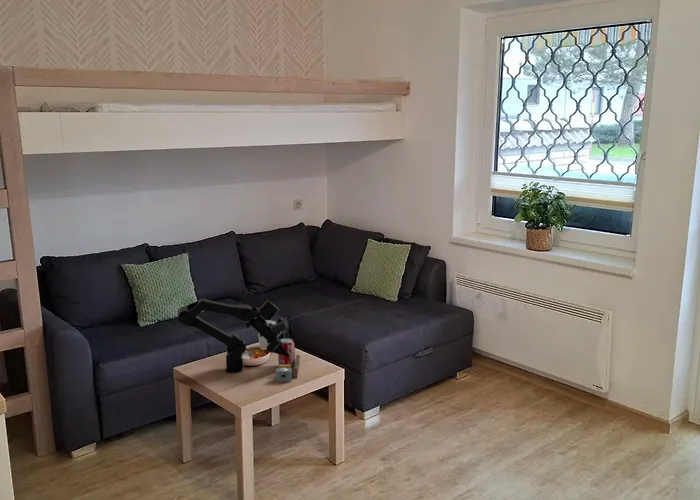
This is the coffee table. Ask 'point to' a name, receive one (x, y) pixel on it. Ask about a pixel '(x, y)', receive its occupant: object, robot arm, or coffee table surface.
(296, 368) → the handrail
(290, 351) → the soda can
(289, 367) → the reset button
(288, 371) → the gauge cabinet
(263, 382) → the coffee table surface
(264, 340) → the mug
